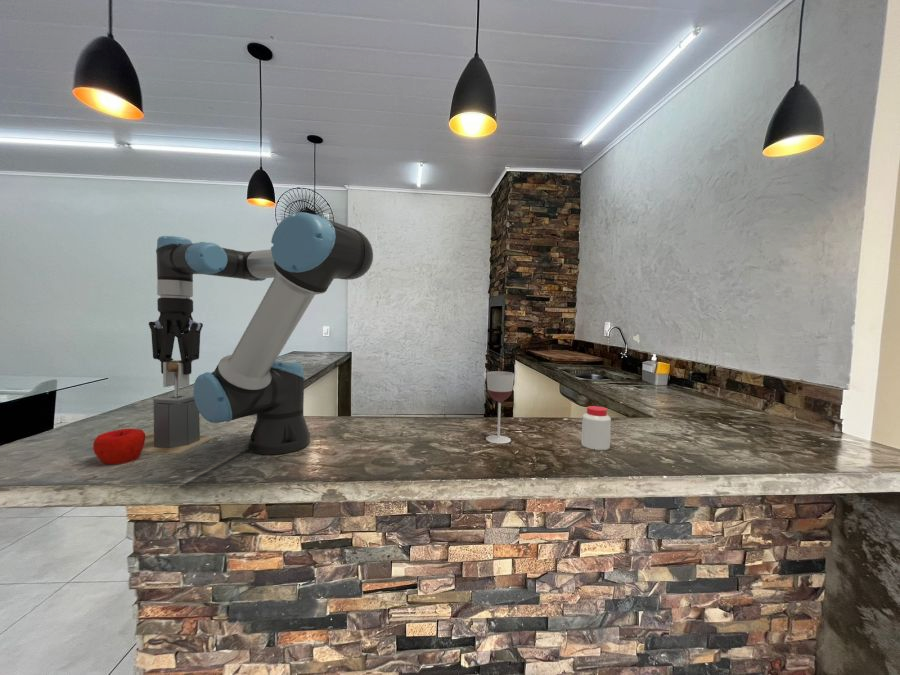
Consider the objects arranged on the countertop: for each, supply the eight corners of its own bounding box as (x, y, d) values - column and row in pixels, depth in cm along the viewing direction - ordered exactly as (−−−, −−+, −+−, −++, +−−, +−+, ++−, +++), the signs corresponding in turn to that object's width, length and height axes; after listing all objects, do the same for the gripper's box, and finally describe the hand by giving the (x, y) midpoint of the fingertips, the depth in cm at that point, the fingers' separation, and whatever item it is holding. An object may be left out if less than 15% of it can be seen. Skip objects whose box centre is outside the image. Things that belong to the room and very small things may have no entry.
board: (216, 440, 104) (216, 436, 104) (178, 458, 91) (178, 453, 91) (143, 436, 105) (143, 432, 105) (96, 452, 93) (96, 448, 92)
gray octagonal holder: (213, 434, 105) (212, 392, 105) (179, 448, 93) (178, 401, 93) (181, 432, 106) (181, 391, 105) (144, 446, 94) (143, 400, 94)
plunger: (198, 431, 102) (197, 360, 101) (178, 438, 95) (177, 362, 94) (175, 430, 102) (175, 359, 101) (154, 437, 96) (153, 362, 95)
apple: (87, 475, 80) (87, 439, 79) (101, 461, 88) (101, 428, 87) (140, 468, 84) (140, 434, 84) (149, 455, 92) (149, 424, 92)
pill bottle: (580, 447, 106) (582, 409, 105) (581, 439, 113) (583, 404, 112) (610, 451, 103) (611, 412, 102) (609, 443, 110) (611, 406, 109)
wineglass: (516, 438, 113) (518, 372, 112) (504, 445, 105) (506, 376, 104) (492, 433, 117) (494, 370, 116) (479, 440, 110) (481, 373, 109)
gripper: (215, 299, 100) (216, 385, 101) (158, 297, 101) (159, 382, 102) (194, 297, 92) (195, 390, 93) (132, 296, 94) (134, 387, 95)
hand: (176, 386), depth 98 cm, fingers closed on plunger, 4 cm apart
